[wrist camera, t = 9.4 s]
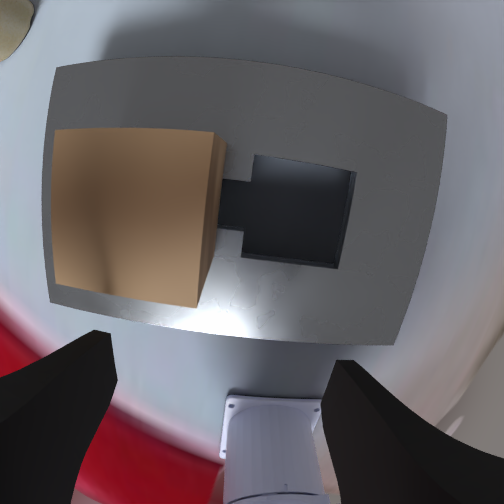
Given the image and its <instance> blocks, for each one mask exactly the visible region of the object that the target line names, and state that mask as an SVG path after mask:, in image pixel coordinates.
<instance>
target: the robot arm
mask: <svg viewBox="0 0 504 504" xmlns="http://www.w3.org/2000/svg"><path fill="white" fill-rule="evenodd" d="M117 381H118V379H117V374H116V368H115V362H114V355H113V348H112V341H111V333H106V332H102V331H98V330H93V331H91V332H89V333H87V334H85V335H83V336H81V337H79V338H78V339H76V340H74V341H72V342H71V343H69V344H67V345H65V346H64V347H62V348H60V349H58V350H56V351H55V352H53V353H51V354H49V355H48V356H46V357H44V358H42V359H40V360H38V361H36V362H34V363H32V364H30V365H28V366H26V367H24V368H22V369H20V370H18V371H15V372H13V373H11V374H8V375H6V376H3V377H0V504H71V499H72V495H73V491H74V487H75V483H76V480H77V476H78V473H79V470H80V467H81V463H82V461H83V458H84V456H85V454H86V451H87V449H88V447H89V445H90V443H91V441H92V439H93V437H94V435H95V433H96V431H97V429H98V427H99V425H100V423H101V421H102V419H103V417H104V415H105V413H106V411H107V409H108V407H109V405H110V402H111V399H112V396H113V393H114V390H115V387H116V384H117ZM230 404H234V405H230ZM316 408H317V409H316ZM320 414H321V415H322V422H323V430H324V434H325V437H326V441H327V445H328V448H329V452H330V456H331V459H332V463H333V467H334V470H335V474H336V478H337V481H338V486H339V490H340V497H341V504H504V458H501V457H497V456H494V455H491V454H488V453H485V452H483V451H480V450H478V449H475V448H473V447H471V446H469V445H466V444H464V443H462V442H460V441H458V440H456V439H454V438H452V437H451V436H449V435H447V434H445V433H444V432H442V431H440V430H439V429H437V428H436V427H434V426H432V425H431V424H429V423H428V422H426V421H425V420H424V419H422V418H421V417H420V416H418V415H417V414H416V413H414V412H413V411H412V410H410V409H409V408H408V407H407V406H405V405H404V404H403V403H402V402H400V401H399V400H398V399H397V398H396V397H395V396H393V395H392V394H391V393H390V392H389V391H388V390H387V389H386V388H384V387H383V386H382V385H381V384H380V383H379V382H378V381H377V380H376V379H375V378H373V377H372V376H371V375H370V374H369V373H368V372H367V371H366V370H365V369H364V368H362V367H361V366H360V365H359V364H358V363H357V362H355V361H354V360H336V363H335V366H334V368H333V371H332V374H331V377H330V380H329V382H328V385H327V388H326V390H325V393H324V396H323V398H322V400H321V399H283V398H265V397H251V396H239V395H229V396H227V397H226V403H225V411H224V419H223V427H222V435H221V444H220V452H219V457H221V458H223V459H225V478H224V497H223V504H330V499H329V495H328V494H325V492H324V487H323V482H322V477H321V472H320V467H319V463H318V458H317V453H316V448H315V444H314V439H313V434H312V432H313V430H314V428H315V426H316V423H317V421H318V419H319V417H320ZM338 504H340V503H338Z"/></svg>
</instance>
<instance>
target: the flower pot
mask: <svg viewBox="0 0 504 504" xmlns="http://www.w3.org/2000/svg"><path fill="white" fill-rule="evenodd" d="M33 14H34V7H33V4H32V3H31V2H30V1H29V0H0V62H1V61H3V60H5V59H7V58H8V57H9V56H10V55H11V54H12V53H13V52H14V51H15V50H16V48H17V47H18V46H19V45H20V43H21V42H22V40H23V39H24V37H25V36H26V34H27V32H28V30H29V28H30V21H31V17H32V15H33Z"/></svg>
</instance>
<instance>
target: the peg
mask: <svg viewBox="0 0 504 504" xmlns="http://www.w3.org/2000/svg"><path fill="white" fill-rule="evenodd" d="M226 148H227V143H226V142H225V141H224V140H223V139H222V138H220V137H219V136H218V135H217V134H216V133H214V132H205V131H192V130H177V129H157V128H82V129H63V130H55V136H54V146H53V158H52V176H51V230H52V248H53V261H54V271H55V280H56V284H60V285H65V286H70V287H74V288H79V289H84V290H89V291H94V292H99V293H104V294H109V295H115V296H120V297H126V298H132V299H137V300H143V301H149V302H155V303H162V304H168V305H175V306H181V307H188V308H196V309H197V306H198V303H199V300H200V297H201V294H202V290H203V287H204V284H205V281H206V278H207V275H208V272H209V269H210V266H211V263H212V260H213V257H214V250H215V240H216V231H217V222H218V213H219V204H220V195H221V187H222V179H223V171H224V163H225V155H226Z"/></svg>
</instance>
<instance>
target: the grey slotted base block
mask: <svg viewBox="0 0 504 504" xmlns="http://www.w3.org/2000/svg"><path fill="white" fill-rule="evenodd" d="M446 127H447V115H446V114H444V113H442V112H440V111H437V110H435V109H433V108H430V107H428V106H426V105H423V104H421V103H418V102H415V101H413V100H410V99H408V98H405V97H402V96H399V95H397V94H394V93H391V92H388V91H385V90H382V89H379V88H376V87H372V86H369V85H366V84H362V83H359V82H355V81H352V80H348V79H344V78H340V77H336V76H332V75H328V74H324V73H319V72H315V71H310V70H305V69H300V68H295V67H289V66H283V65H277V64H270V63H263V62H255V61H247V60H237V59H226V58H211V57H185V56H162V57H136V58H121V59H110V60H101V61H93V62H86V63H79V64H73V65H67V66H61V67H56V72H55V76H54V81H53V86H52V91H51V97H50V103H49V109H48V116H47V123H46V132H45V141H44V153H43V168H42V231H43V247H44V259H45V268H46V277H47V285H48V292H49V298H50V302H51V303H55V304H59V305H63V306H67V307H71V308H75V309H79V310H83V311H88V312H92V313H97V314H101V315H106V316H111V317H116V318H121V319H126V320H131V321H136V322H141V323H147V324H153V325H159V326H164V327H171V328H177V329H184V330H190V331H197V332H204V333H212V334H220V335H228V336H237V337H246V338H256V339H266V340H278V341H291V342H305V343H323V344H346V345H394V343H395V340H396V338H397V335H398V332H399V330H400V327H401V325H402V322H403V319H404V316H405V314H406V311H407V308H408V305H409V302H410V299H411V296H412V293H413V290H414V287H415V284H416V281H417V277H418V274H419V271H420V267H421V264H422V260H423V256H424V253H425V249H426V245H427V241H428V237H429V233H430V229H431V224H432V220H433V215H434V210H435V205H436V200H437V195H438V189H439V183H440V177H441V170H442V163H443V156H444V147H445V138H446ZM82 128H157V129H177V130H192V131H205V132H214V133H216V134H217V135H218V136H219V137H220V138H222V139H223V140H224V141H225V142H226V143H227V148H226V155H225V163H224V171H223V179H232V180H240V181H248V182H251V175H252V168H253V161H254V155H261V156H268V157H275V158H281V159H288V160H294V161H300V162H306V163H311V164H317V165H322V166H327V167H333V168H338V169H342V170H347V171H351V176H350V182H349V188H348V194H347V200H346V205H345V210H344V216H343V221H342V226H341V231H340V236H339V241H338V245H337V250H336V255H335V259H334V264H332V263H324V262H316V261H308V260H300V259H291V258H283V257H275V256H267V255H259V254H251V253H243V252H241V250H242V243H243V235H244V228H242V227H234V226H226V225H218V224H217V231H216V240H215V250H214V257H213V260H212V263H211V266H210V269H209V272H208V275H207V278H206V281H205V284H204V287H203V290H202V294H201V297H200V300H199V303H198V306H197V309H196V308H188V307H181V306H175V305H168V304H162V303H155V302H149V301H143V300H137V299H132V298H126V297H120V296H115V295H109V294H104V293H99V292H94V291H89V290H84V289H79V288H74V287H70V286H65V285H60V284H56V280H55V271H54V261H53V248H52V230H51V176H52V158H53V146H54V136H55V130H63V129H82Z"/></svg>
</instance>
